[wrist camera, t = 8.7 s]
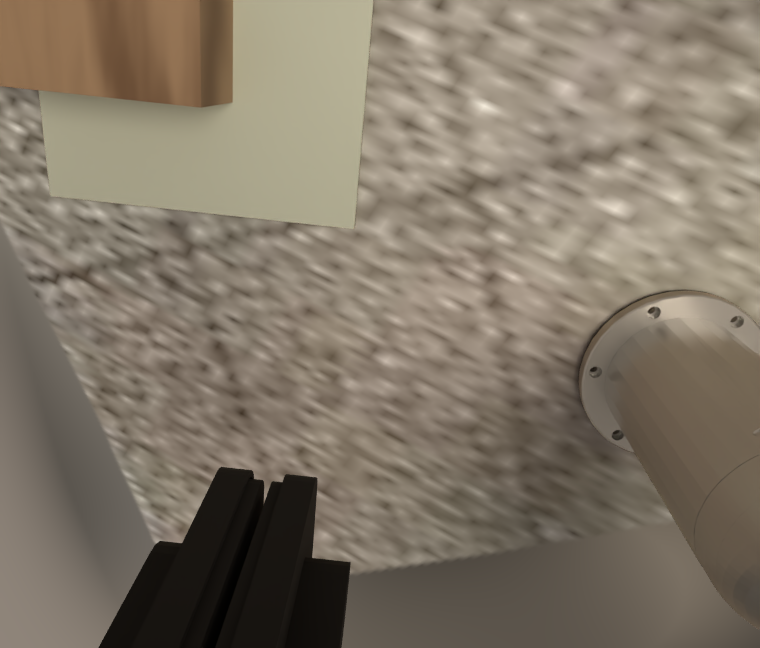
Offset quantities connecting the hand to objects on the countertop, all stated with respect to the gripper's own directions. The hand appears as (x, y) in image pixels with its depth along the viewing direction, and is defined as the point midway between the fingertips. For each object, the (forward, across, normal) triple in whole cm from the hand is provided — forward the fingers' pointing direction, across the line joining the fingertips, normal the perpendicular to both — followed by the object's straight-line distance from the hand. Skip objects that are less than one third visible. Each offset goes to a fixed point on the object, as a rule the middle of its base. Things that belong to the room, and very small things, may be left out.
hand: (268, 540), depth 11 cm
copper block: (+28, +9, -8) cm, 30 cm away
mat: (+31, +11, -8) cm, 34 cm away
